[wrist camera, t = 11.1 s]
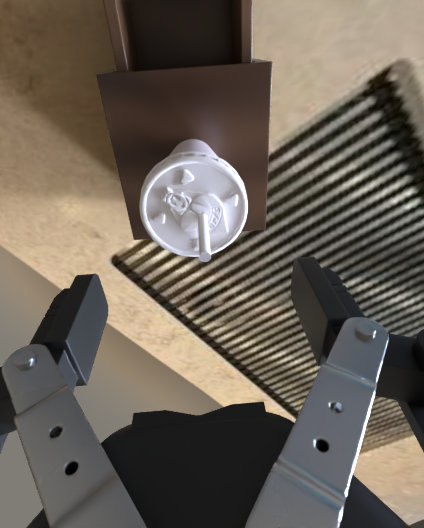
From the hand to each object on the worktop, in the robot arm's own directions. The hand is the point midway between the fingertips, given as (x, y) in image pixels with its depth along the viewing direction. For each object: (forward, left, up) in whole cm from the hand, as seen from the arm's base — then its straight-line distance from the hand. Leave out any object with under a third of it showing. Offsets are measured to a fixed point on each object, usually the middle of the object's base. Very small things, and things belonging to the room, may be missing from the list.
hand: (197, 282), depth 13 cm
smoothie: (0, 0, -16) cm, 16 cm away
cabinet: (0, 0, -26) cm, 26 cm away
